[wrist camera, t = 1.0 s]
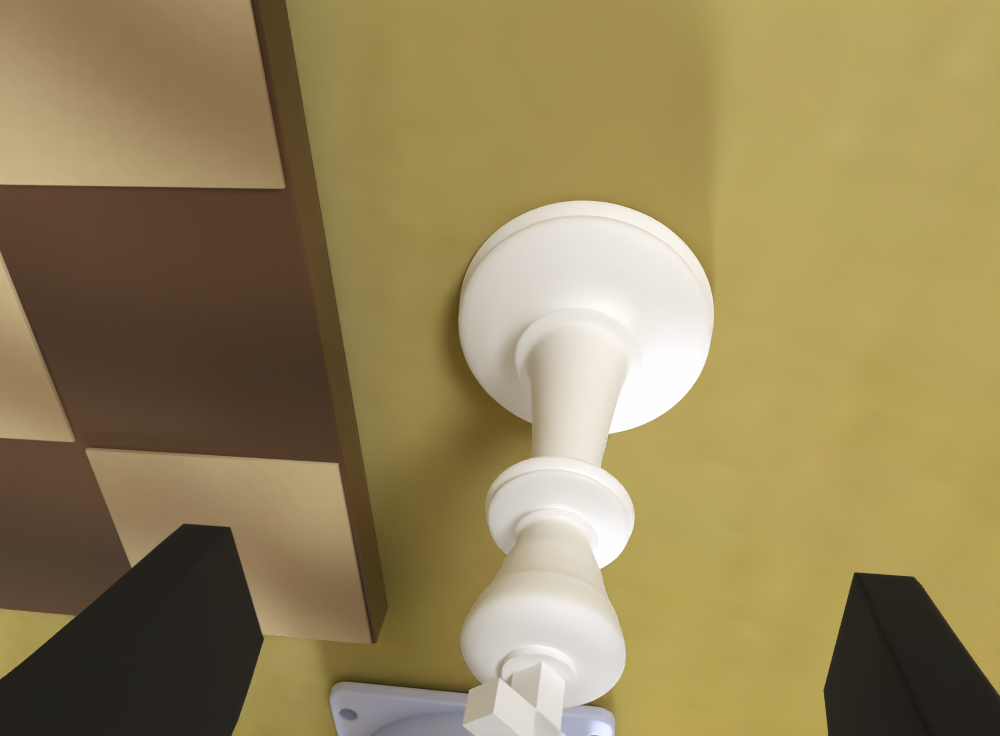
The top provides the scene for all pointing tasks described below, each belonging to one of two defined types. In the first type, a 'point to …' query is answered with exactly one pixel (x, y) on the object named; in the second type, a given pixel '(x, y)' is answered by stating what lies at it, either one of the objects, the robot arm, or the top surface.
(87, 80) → the game board
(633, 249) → the chess piece
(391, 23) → the top surface
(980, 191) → the top surface
